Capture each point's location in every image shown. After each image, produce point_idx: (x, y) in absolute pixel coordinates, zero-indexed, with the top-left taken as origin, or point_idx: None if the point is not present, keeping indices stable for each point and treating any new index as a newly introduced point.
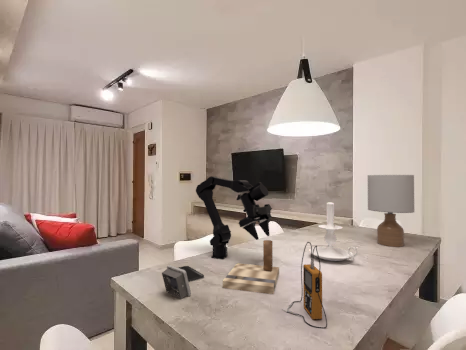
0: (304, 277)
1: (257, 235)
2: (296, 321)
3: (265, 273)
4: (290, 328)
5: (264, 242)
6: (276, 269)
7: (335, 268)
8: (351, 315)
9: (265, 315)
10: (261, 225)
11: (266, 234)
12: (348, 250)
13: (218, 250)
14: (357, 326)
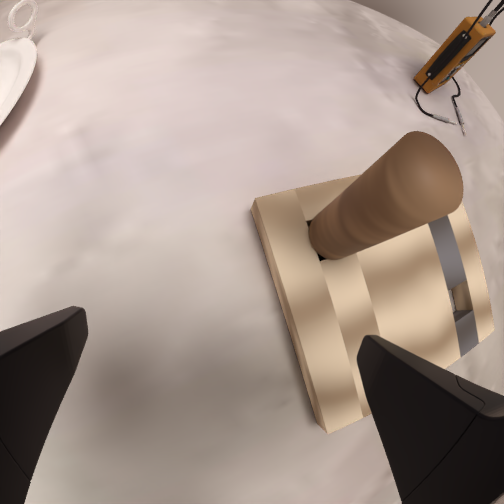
0: (468, 52)
1: (395, 352)
2: (466, 108)
3: None
4: (483, 117)
5: (459, 194)
6: (296, 198)
7: (80, 59)
8: (381, 27)
9: (491, 162)
10: (10, 483)
11: (79, 353)
12: (14, 23)
13: None
14: (404, 30)
